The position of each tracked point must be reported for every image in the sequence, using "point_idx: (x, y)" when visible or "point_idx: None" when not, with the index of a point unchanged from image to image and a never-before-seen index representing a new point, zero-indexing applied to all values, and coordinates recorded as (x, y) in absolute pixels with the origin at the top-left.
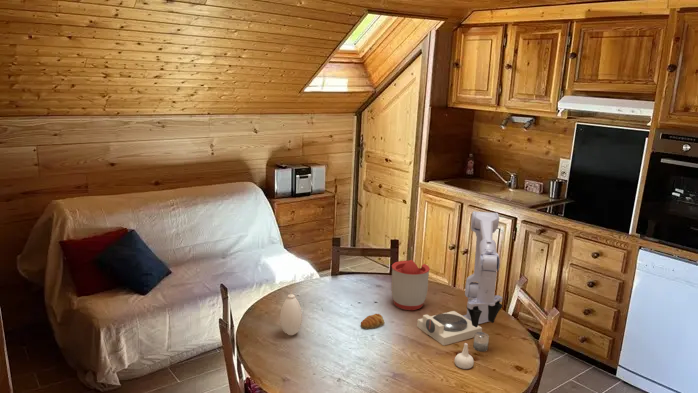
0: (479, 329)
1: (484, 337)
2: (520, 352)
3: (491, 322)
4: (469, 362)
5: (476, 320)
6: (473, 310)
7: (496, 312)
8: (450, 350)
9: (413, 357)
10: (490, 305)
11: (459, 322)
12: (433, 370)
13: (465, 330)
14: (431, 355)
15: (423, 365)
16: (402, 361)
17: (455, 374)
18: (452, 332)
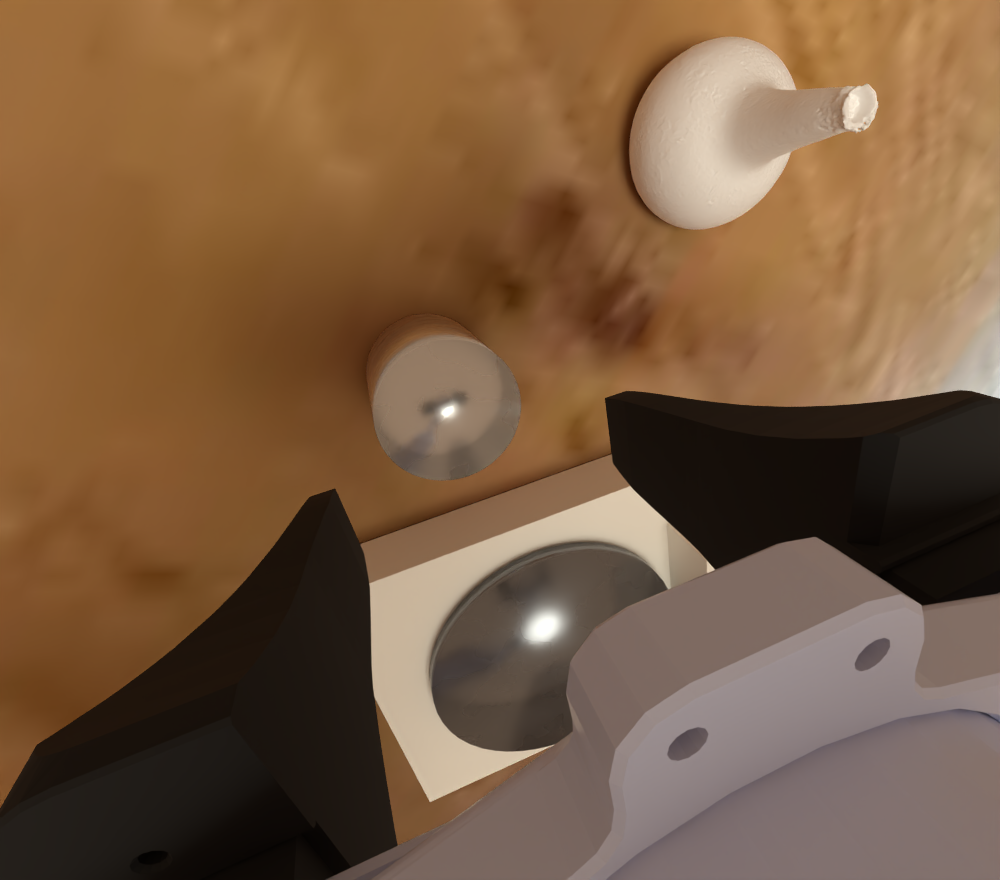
0: None
1: (444, 366)
2: (9, 218)
3: (340, 503)
4: (738, 39)
5: (720, 406)
6: (996, 486)
7: (266, 599)
8: (657, 371)
9: (888, 325)
10: (845, 571)
11: (500, 650)
12: (901, 134)
13: (491, 559)
14: (795, 328)
15: (905, 218)
16: (957, 293)
17: (823, 17)
18: (602, 531)
